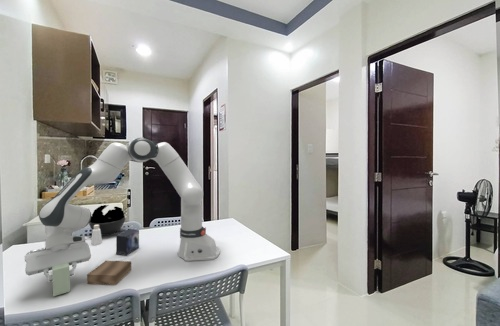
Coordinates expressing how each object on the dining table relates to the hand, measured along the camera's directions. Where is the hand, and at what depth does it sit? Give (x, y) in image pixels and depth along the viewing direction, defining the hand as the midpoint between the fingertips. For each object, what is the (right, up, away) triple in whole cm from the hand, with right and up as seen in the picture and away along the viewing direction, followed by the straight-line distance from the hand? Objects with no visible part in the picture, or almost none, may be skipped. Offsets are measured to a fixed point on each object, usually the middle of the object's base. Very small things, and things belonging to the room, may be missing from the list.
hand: (61, 277), depth 90 cm
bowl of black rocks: (-19, -2, +61) cm, 64 cm away
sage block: (-1, -5, +1) cm, 5 cm away
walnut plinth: (+12, -6, +13) cm, 18 cm away
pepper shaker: (-17, -3, +46) cm, 49 cm away
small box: (+6, -4, +38) cm, 38 cm away
